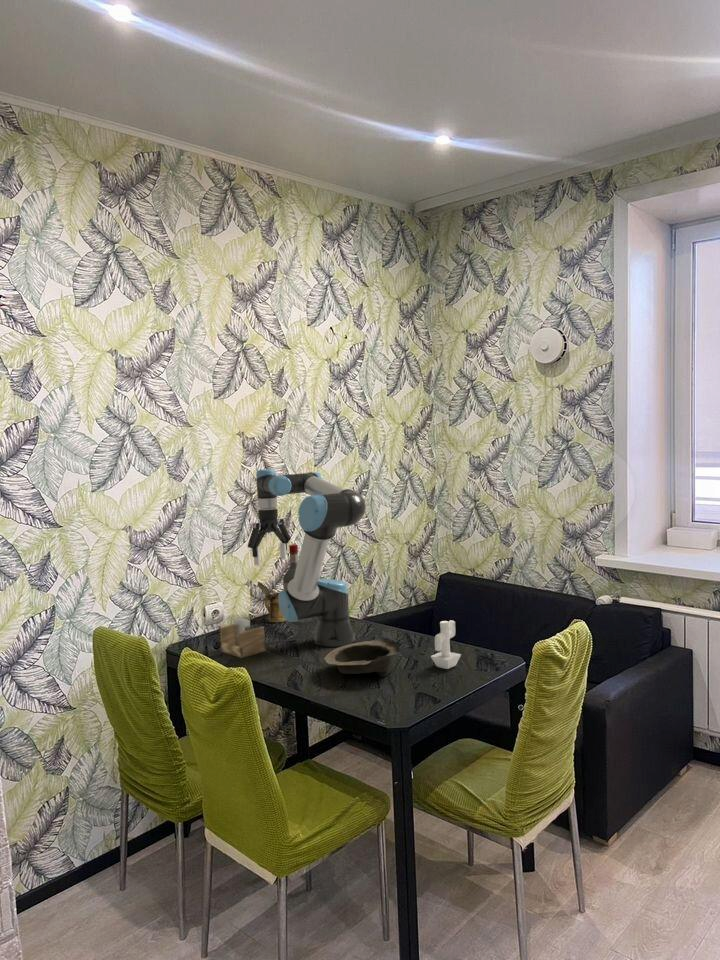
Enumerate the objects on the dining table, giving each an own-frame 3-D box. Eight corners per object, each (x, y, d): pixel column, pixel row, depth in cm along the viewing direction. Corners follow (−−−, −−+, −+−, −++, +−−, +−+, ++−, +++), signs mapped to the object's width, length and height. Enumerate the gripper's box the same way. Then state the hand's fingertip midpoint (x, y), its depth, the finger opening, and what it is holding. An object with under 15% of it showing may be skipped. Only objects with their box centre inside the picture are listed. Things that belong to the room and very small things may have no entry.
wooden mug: (254, 622, 309) (252, 580, 308) (282, 616, 317) (280, 575, 316) (265, 626, 302) (263, 583, 301) (293, 620, 310) (291, 577, 309)
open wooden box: (265, 650, 269) (264, 626, 268) (241, 658, 262) (240, 633, 261) (245, 644, 278) (243, 621, 277) (221, 651, 271) (219, 627, 270)
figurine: (428, 667, 242) (426, 623, 241) (445, 660, 249) (444, 616, 248) (446, 672, 237) (444, 626, 236) (463, 664, 244) (461, 619, 243)
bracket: (255, 648, 269) (253, 619, 268) (242, 652, 265) (240, 622, 264) (244, 645, 274) (242, 616, 273) (230, 649, 270) (229, 619, 269)
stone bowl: (416, 672, 238) (414, 645, 236) (351, 696, 225) (348, 667, 223) (374, 653, 258) (372, 628, 257) (313, 674, 245) (309, 647, 244)
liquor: (302, 616, 315) (298, 547, 313) (282, 615, 318) (279, 547, 316) (310, 611, 324) (307, 543, 321) (292, 610, 327) (288, 543, 325)
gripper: (285, 504, 300) (287, 556, 302) (236, 512, 282) (239, 566, 284) (297, 505, 295) (300, 557, 297) (248, 512, 277) (251, 568, 279)
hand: (270, 562), depth 290 cm, fingers open, 13 cm apart
